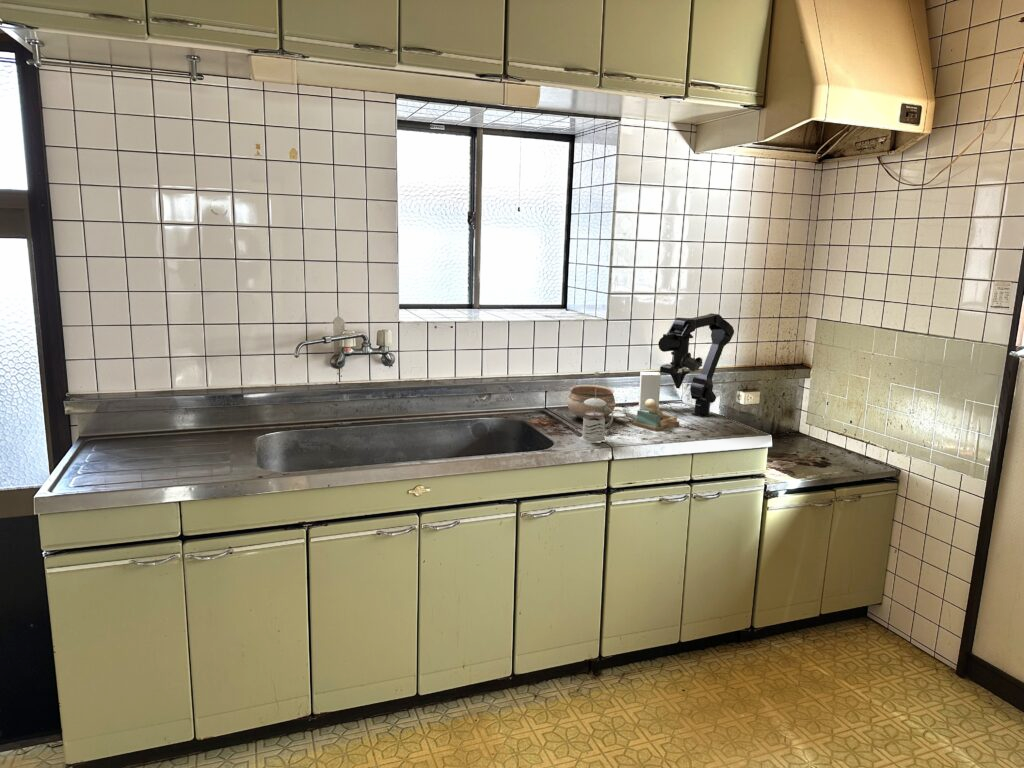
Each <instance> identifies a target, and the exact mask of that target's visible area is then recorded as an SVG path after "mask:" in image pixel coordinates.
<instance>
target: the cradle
mask: <svg viewBox="0 0 1024 768" xmlns="http://www.w3.org/2000/svg"><path fill="white" fill-rule="evenodd" d="M636 412H637V413H636V420H635V421H632V424H631V425H632V426H634V427H639V428H642V429H645V430H648V431H649V430H650V431H652V432H658V431H661V430H665V429H669V428H672V427H676V426H679V425H680V421H677V420H678V417H677V416H673V415H669V414H665V413H663V415H664V418H663V420H660V415H659V414H655V413H651V412H649V411H648V410H640V409H639V410H637V411H636Z"/></svg>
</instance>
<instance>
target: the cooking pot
mask: <svg viewBox="0 0 1024 768" xmlns="http://www.w3.org/2000/svg"><path fill="white" fill-rule="evenodd" d="M569 390H570V391H569V392H568V393H567V394H568V397H567V401H566V403H567V407H568V409H569V410H570V412H571V413H572V414H573V415H575V416H576V417H577V418H579V419H580V420H583V417H584V416H586V415H585V412H588V411H594V409H595V412H602V413H604V416H603V417H604V418H606V417H608V416H609V415H612V413H611V410H612V412H613V411H614V410H615V407H617V403H616V401H615V400H616V399H615V396H614V392H615V390H614V389H613V388H612V387H609V386H604V385H598V384H597V385H596V384H578V385H573V386H570V387H569ZM595 392H596V398H599V399H601V400H604V401H605V402H606V405H605V406H607V407H609V408H610V409H611V410H610V409H608V408H606V407H605V406H601V407H594V406H588V405H585V404H584V401H585V400H587V399H590V398H595ZM605 409H606V411H605ZM590 420H598V421H600V420H599V419H597V418H591V419H590Z"/></svg>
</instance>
